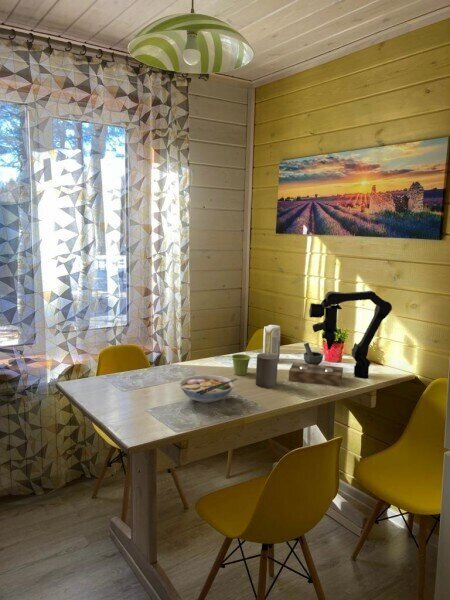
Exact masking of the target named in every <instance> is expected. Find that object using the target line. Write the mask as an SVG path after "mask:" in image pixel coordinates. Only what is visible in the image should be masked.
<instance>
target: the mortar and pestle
mask: <svg viewBox="0 0 450 600" xmlns="http://www.w3.org/2000/svg"><path fill="white" fill-rule="evenodd" d="M303 347H304V348H305V352H304V353H303V359H304V363H305V364H313V365H321V364H322V362H323V359H324V354H322V353H320V352H315V351H312V349H311V346H310V343H309V342H306V343H304V344H303Z"/></svg>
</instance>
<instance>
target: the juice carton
mask: <svg viewBox="0 0 450 600" xmlns="http://www.w3.org/2000/svg"><path fill="white" fill-rule="evenodd" d="M281 332H282V331H281V326H280V325H277V324H268V325H266V326H264V327H263V338H262V340H263V341H262V353H271V354H275V355H277V356H278V361H279V360H280V354H281V353H280V352H281Z"/></svg>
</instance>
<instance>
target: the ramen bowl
mask: <svg viewBox="0 0 450 600" xmlns="http://www.w3.org/2000/svg"><path fill="white" fill-rule="evenodd" d="M237 380H238V378H234V379H230V378H228V377H226V376H220V375H215V374H213V375H212V374H200V375H199V374H198V375H197V374H196V375H191V376H186V377H184V378H182V379H180V381H179V383H178V384H179V387H180V389H181V390H182V392H183V393H184V394H185V396H187V397H188V398H189V399H191V400H193V401H196V402H199V403H202V404H212V403H215V402H217V401H221V400H223V399H224V398H225V397H227V396H228V395H229V394H230V393H231V392H232V390H233V388H234V385H235V382H234V381H237Z"/></svg>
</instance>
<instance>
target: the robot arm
mask: <svg viewBox="0 0 450 600" xmlns="http://www.w3.org/2000/svg"><path fill="white" fill-rule="evenodd" d="M367 300H370V301H371V303H373V304H374V305H375V308H374V310H373V311H374V313H373V317H372V318H371V320H370V323H369V324H368V326H367V329H366V330H365V332H364V333H363V336H362V338H361V340H360V342H358V343H356V342H354V344H353V347H352V348H351V350H350V351H351V357H352V358H353V359H354V360H355V365H354V366H353V376H354V378H361V379H369V377H370V376H369V374H370V373H369V372H370V367H371V363H372V362H371V361H370V360H369V359H368V358H367V356H368V354H369V348H370V345H371V344H372V342H373V341H372V340H373V339H374V337H375V335H376V334H377V332H378V329H379V328H380V326H381V324H382V322H383V320H384V319H386V318H387V317H388V315H389V314H390V313H391V312H392V310H393V306H392V304H391V303H390V302H389V301H387V300H385V299H383V298H381V297H380V296H379V295H378V294H377V293H376V292H375V291H372V290H367V291H366V290H364V291H352V292H341V291H340V292H339V291H334V290H333V291H327V292H326V294H325V297H324V298H323V300H322V301H321V303H314V302H311V303H310V306H309V309H308V310H309V311H308V317H309V318H314V319H315V318H316V319H317V318H318V319H321V318H323V317H324V319H323V322H318V323H314V324H312V330H313V332H314V333H317V332H320V331H323V332H322V335H321V339H325V341H326V346H327V347H326V348H327V350H329V351H330V350H331V349H332V347H333V345H334V343H335V340H336V339H337V333H338V329H339V328H338V327H337V325H338V324H337V323H338V310H342V307H341V305H340V304H343V303H345V302H354V301H357V302H358V301H367Z"/></svg>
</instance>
